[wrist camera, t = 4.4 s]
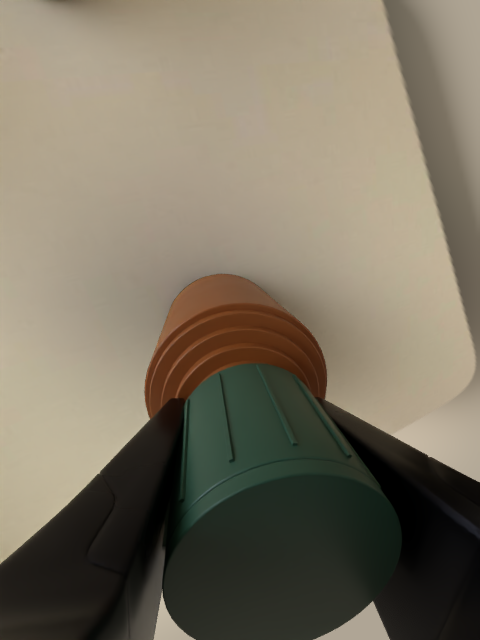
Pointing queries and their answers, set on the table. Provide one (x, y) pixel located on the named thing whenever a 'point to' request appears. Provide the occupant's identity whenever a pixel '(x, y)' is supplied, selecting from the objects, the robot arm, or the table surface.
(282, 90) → the table surface
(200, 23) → the table surface
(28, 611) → the robot arm
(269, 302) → the bottle
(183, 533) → the cap
